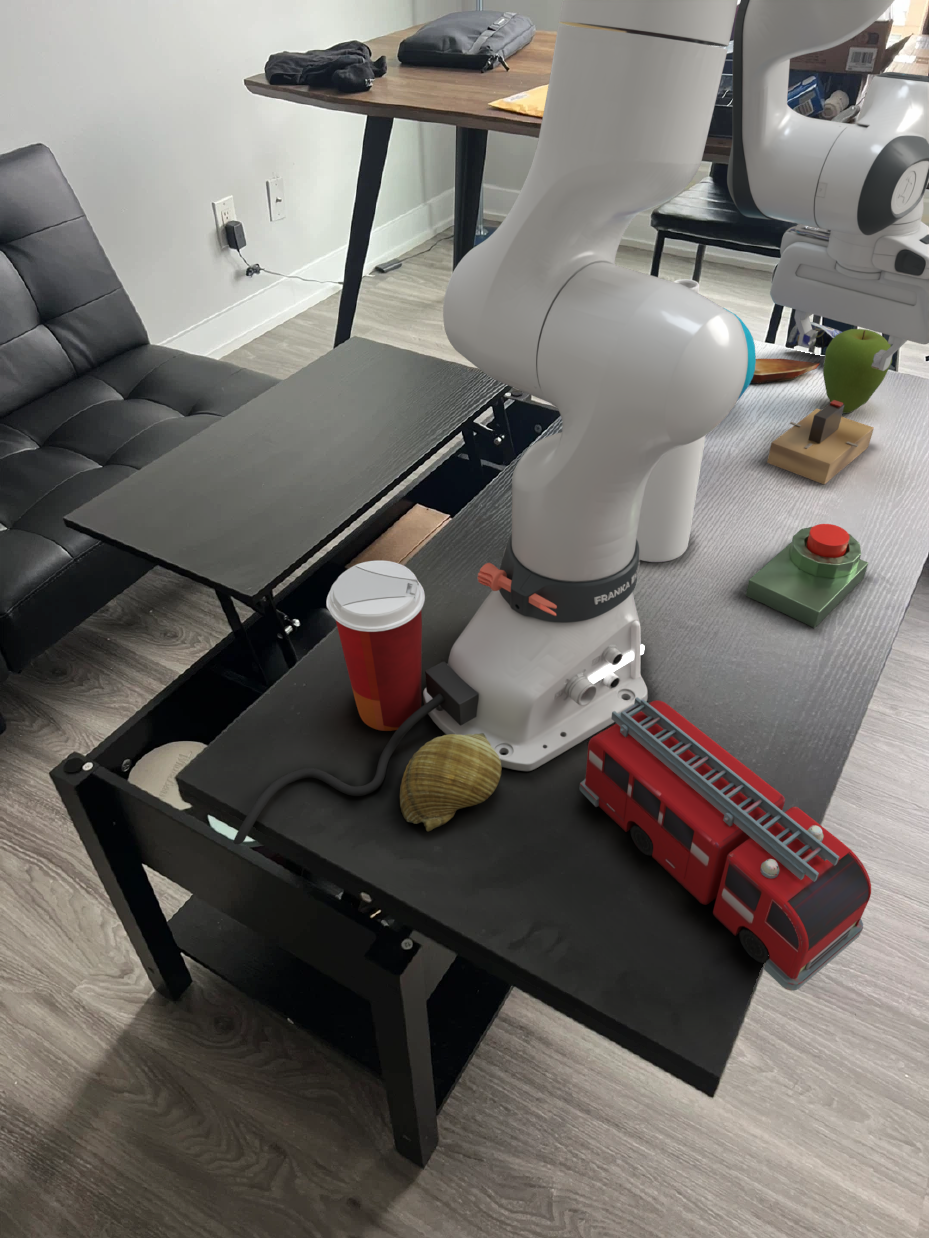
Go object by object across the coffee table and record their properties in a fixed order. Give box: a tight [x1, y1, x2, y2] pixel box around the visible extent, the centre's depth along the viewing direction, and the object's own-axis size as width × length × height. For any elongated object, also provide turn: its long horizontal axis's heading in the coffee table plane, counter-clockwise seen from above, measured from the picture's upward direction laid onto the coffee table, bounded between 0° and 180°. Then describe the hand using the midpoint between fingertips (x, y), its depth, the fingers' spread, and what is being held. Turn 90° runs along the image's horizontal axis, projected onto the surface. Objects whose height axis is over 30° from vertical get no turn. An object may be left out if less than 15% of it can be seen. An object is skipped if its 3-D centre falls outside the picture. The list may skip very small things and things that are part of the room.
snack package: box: [785, 321, 843, 368], centre depth 138 cm, size 12×6×12 cm
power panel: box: [766, 408, 875, 485], centre depth 117 cm, size 12×9×3 cm
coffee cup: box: [326, 560, 426, 732], centre depth 81 cm, size 8×8×15 cm
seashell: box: [399, 733, 503, 832], centre depth 77 cm, size 10×7×8 cm
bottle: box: [636, 278, 707, 563], centre depth 95 cm, size 8×8×30 cm
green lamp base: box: [745, 526, 869, 629], centre depth 97 cm, size 12×8×4 cm, turn 136°
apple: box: [822, 328, 893, 414], centre depth 124 cm, size 9×8×12 cm
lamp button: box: [807, 523, 850, 558], centre depth 97 cm, size 4×4×2 cm
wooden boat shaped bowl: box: [750, 358, 821, 385], centre depth 135 cm, size 14×6×2 cm, turn 87°
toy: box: [579, 697, 872, 992], centre depth 69 cm, size 8×22×10 cm, turn 35°
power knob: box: [808, 400, 844, 444], centre depth 115 cm, size 5×2×4 cm, turn 136°
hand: (842, 356), depth 110 cm, fingers open, 8 cm apart
